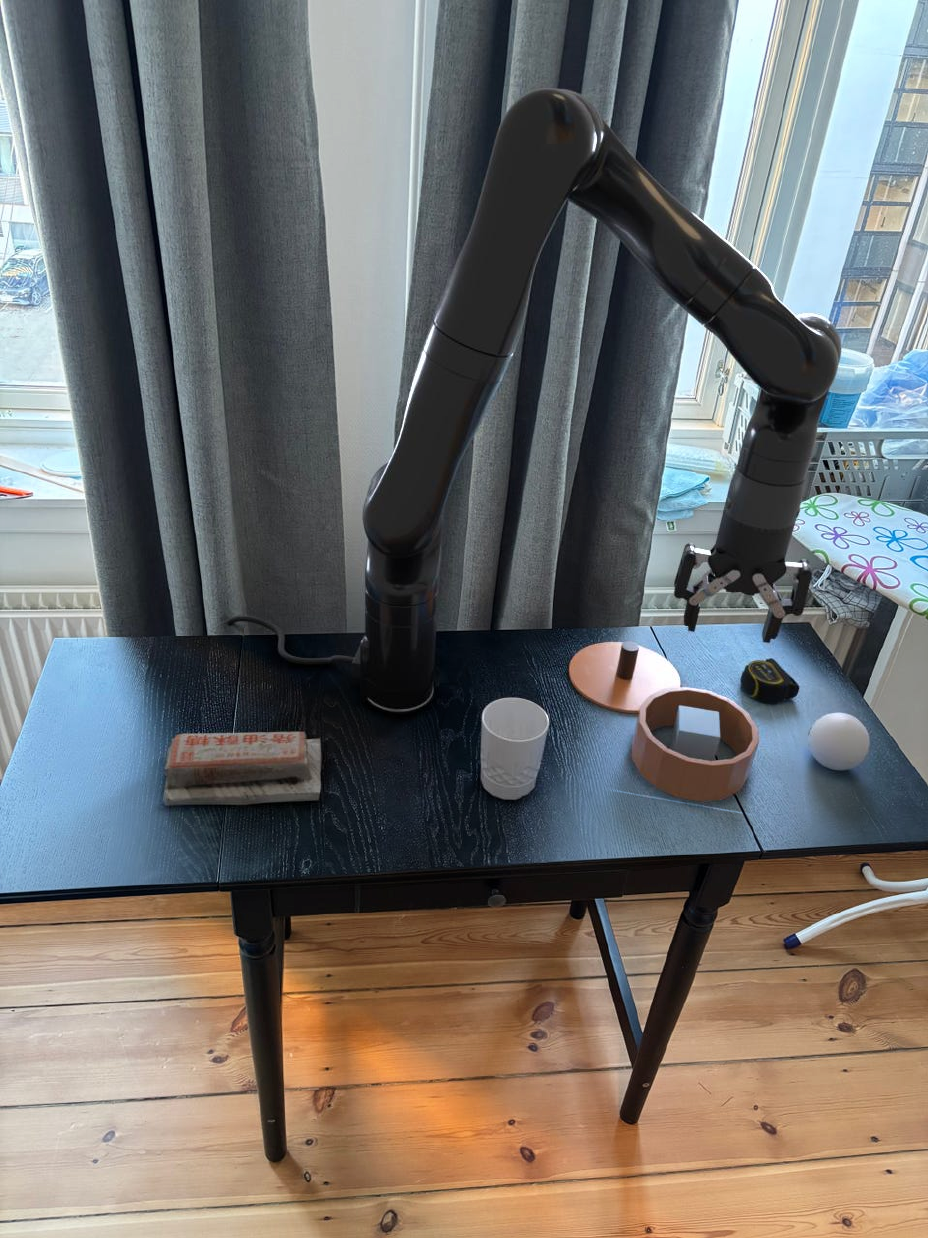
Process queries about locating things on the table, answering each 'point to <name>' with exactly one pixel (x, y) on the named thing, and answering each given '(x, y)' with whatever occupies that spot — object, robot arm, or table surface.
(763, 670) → the tape measure
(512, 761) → the white cup
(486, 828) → the table surface
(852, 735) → the white oval ball
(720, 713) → the orange round container
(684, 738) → the block
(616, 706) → the lid
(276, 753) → the packaged product
